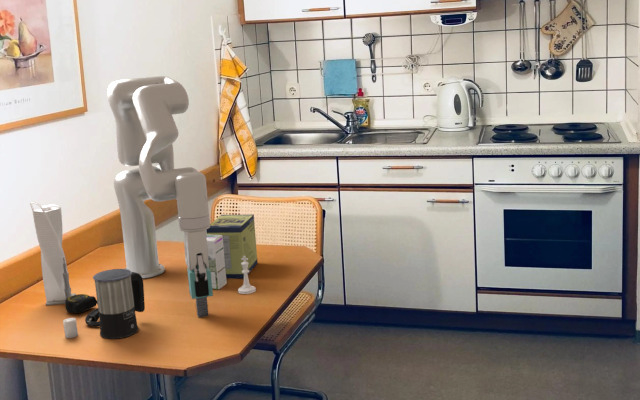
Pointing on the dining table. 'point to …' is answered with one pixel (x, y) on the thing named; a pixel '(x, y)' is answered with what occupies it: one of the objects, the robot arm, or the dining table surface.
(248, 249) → the protein box
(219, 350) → the dining table surface
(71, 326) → the short round post
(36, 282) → the dining table surface
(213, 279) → the syrup box
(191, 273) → the teal rectangular block
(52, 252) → the skyscraper
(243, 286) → the chess piece
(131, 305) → the milk frother
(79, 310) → the tape measure
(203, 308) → the post
